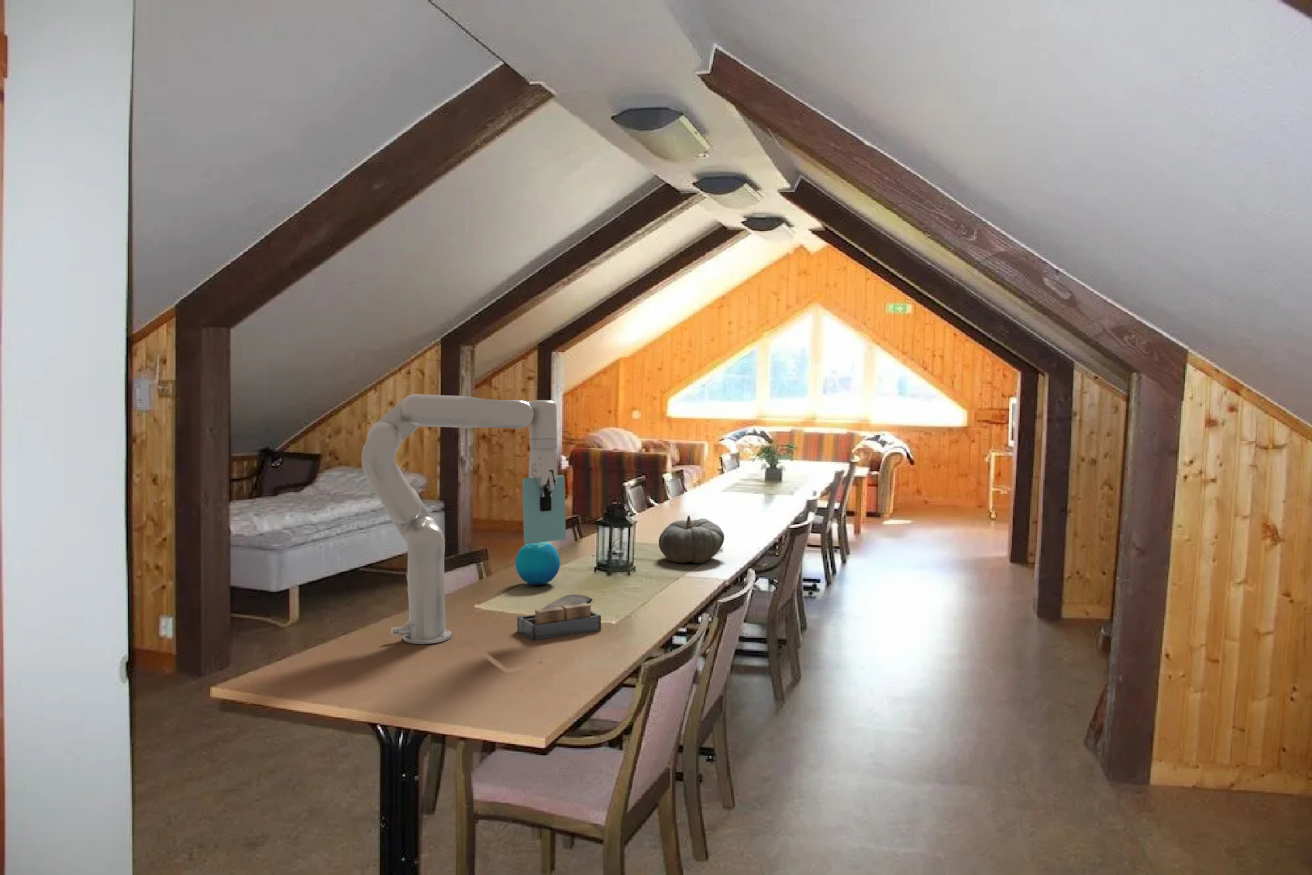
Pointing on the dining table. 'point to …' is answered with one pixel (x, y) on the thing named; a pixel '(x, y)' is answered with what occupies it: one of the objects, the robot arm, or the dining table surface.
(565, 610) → the right offcut block
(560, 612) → the left offcut block
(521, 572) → the decorative orb
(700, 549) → the gourd
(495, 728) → the dining table surface
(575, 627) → the metal rack
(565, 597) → the stone slab
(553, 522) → the teal board
